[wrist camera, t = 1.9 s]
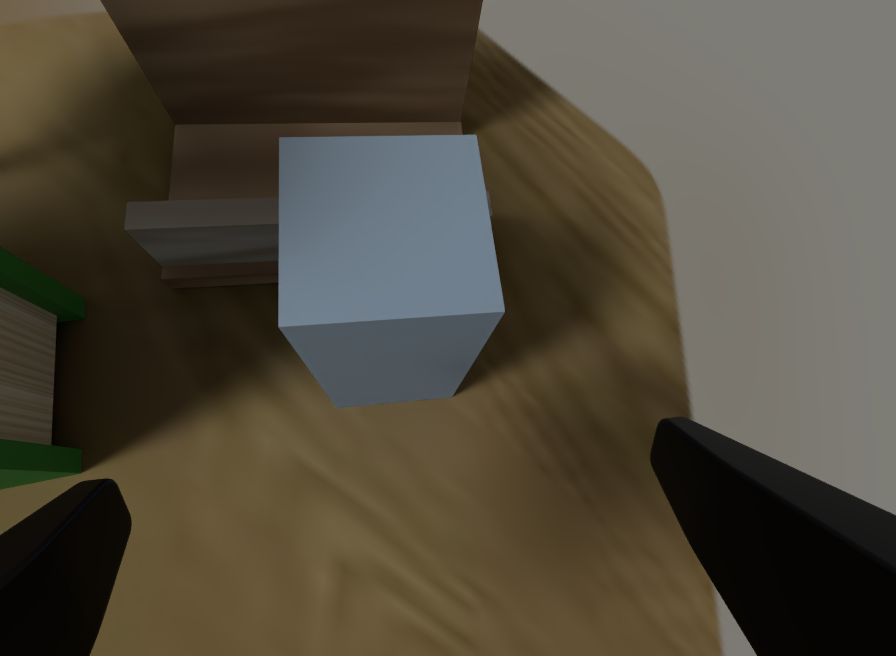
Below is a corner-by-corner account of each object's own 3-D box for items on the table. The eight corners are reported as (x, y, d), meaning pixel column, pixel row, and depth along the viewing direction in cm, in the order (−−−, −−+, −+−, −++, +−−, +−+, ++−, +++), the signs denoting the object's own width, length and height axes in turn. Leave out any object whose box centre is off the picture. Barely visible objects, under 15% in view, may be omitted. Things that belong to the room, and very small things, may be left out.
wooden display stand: (478, 271, 23) (577, 15, 10) (171, 288, 21) (-152, -3, 8) (455, 112, 26) (509, -230, 13) (186, 113, 24) (-35, -284, 12)
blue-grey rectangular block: (452, 397, 20) (504, 311, 11) (336, 407, 20) (278, 327, 10) (440, 293, 22) (476, 134, 12) (332, 300, 21) (279, 137, 11)
